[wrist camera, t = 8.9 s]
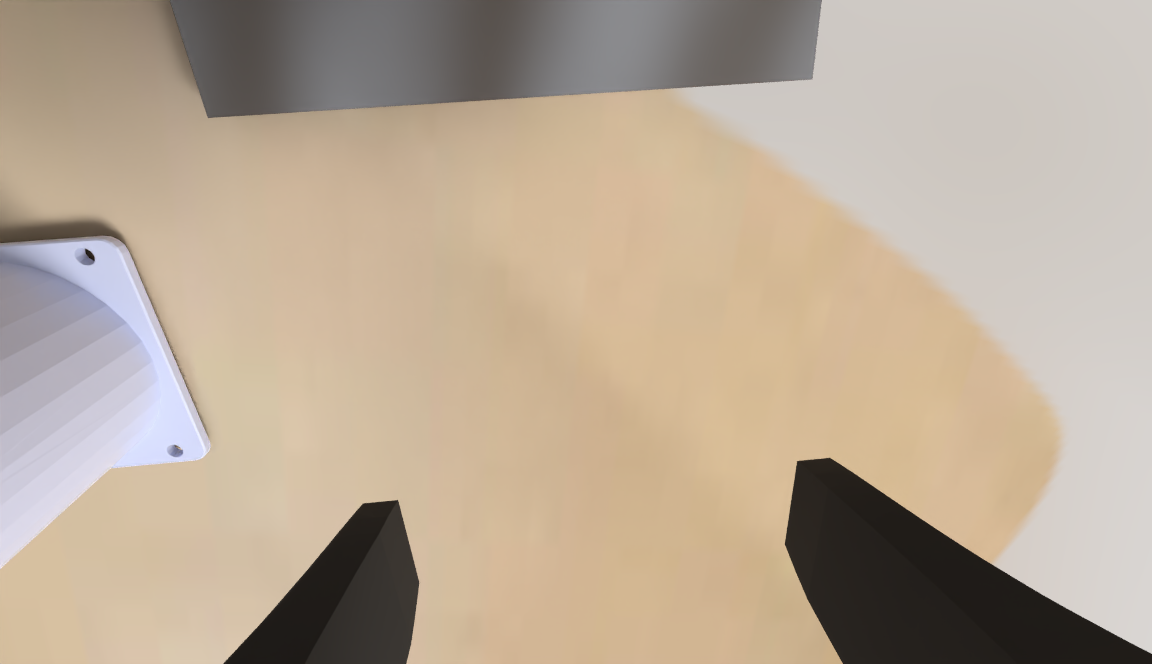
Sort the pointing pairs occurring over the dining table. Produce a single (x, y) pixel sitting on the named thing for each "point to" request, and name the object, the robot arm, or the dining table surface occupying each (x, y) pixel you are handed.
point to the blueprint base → (481, 49)
